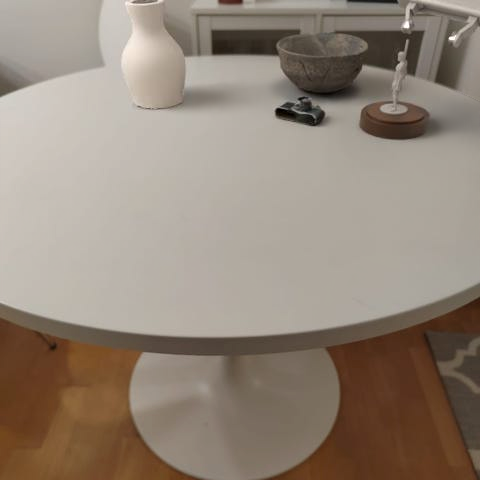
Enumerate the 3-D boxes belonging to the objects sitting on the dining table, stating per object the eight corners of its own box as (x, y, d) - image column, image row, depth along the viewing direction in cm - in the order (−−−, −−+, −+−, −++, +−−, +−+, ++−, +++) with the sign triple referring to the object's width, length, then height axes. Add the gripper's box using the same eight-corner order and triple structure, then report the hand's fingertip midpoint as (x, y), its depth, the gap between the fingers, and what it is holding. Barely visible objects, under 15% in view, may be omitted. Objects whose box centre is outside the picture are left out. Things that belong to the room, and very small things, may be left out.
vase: (200, 94, 109) (192, -4, 96) (167, 114, 100) (152, 9, 86) (151, 86, 114) (137, -8, 101) (115, 105, 105) (94, 4, 92)
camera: (286, 109, 100) (287, 89, 97) (328, 119, 95) (330, 98, 92) (273, 116, 97) (273, 96, 94) (315, 127, 92) (317, 106, 89)
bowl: (322, 111, 98) (326, 61, 92) (257, 89, 110) (257, 44, 104) (380, 88, 108) (387, 41, 102) (315, 70, 120) (318, 27, 114)
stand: (414, 112, 96) (417, 98, 94) (436, 137, 86) (440, 122, 85) (353, 115, 96) (354, 100, 94) (368, 140, 86) (370, 125, 84)
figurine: (383, 103, 93) (394, 37, 85) (410, 106, 91) (424, 40, 83) (377, 112, 89) (388, 44, 81) (404, 116, 87) (419, 47, 79)
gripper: (418, -60, 81) (374, 14, 84) (533, -43, 71) (479, 41, 73) (424, -35, 86) (383, 34, 89) (533, -15, 76) (483, 62, 79)
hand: (427, 38), depth 81 cm, fingers open, 8 cm apart
